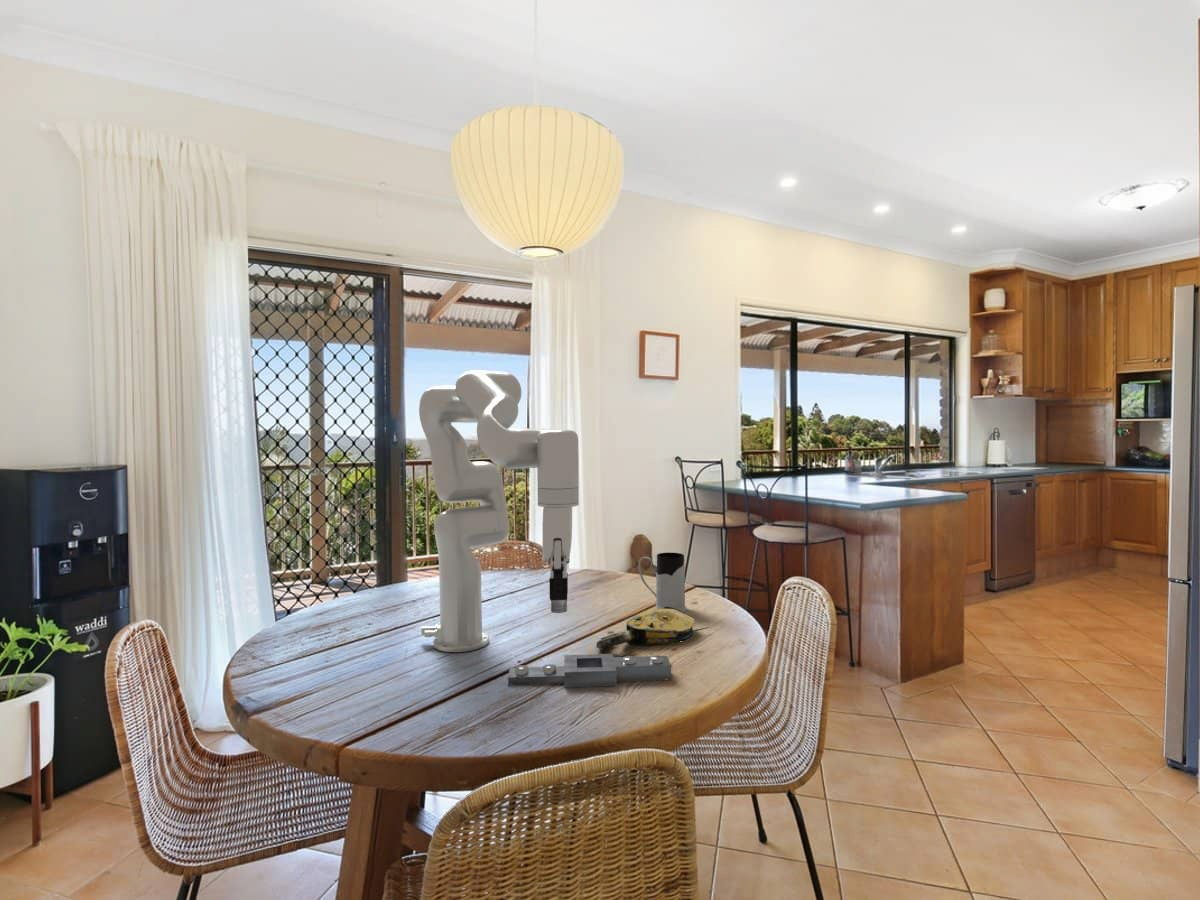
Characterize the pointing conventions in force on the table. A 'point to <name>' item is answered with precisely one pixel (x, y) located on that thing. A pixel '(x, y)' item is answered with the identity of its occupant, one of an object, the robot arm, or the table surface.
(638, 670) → the chain end right
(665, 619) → the pulley block
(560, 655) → the table surface
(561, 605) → the steel pin
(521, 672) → the chain end left
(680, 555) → the grey black mug
